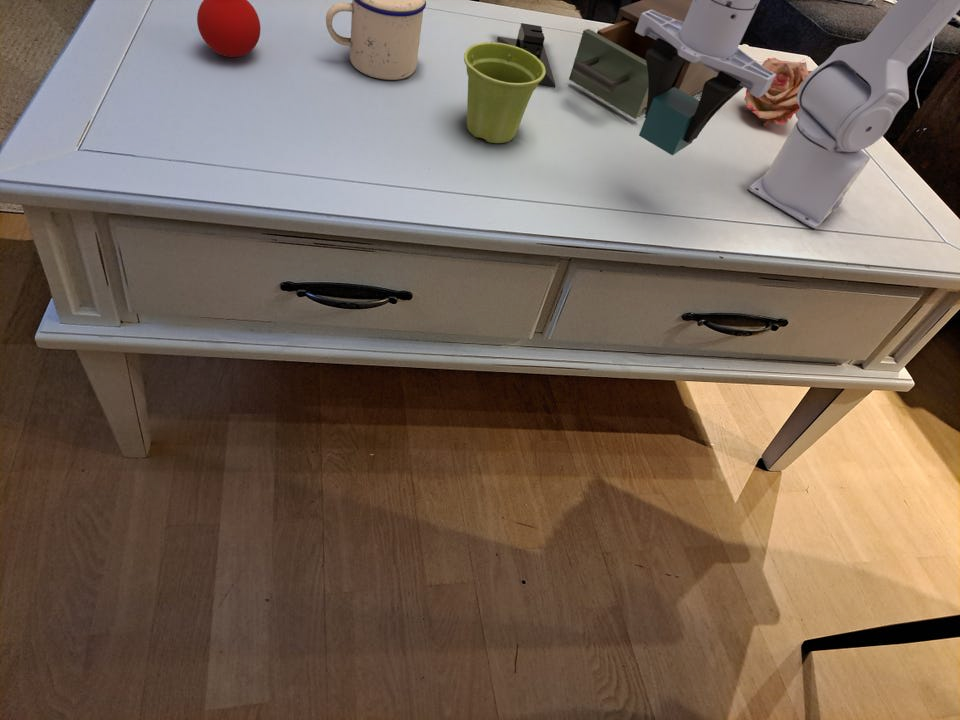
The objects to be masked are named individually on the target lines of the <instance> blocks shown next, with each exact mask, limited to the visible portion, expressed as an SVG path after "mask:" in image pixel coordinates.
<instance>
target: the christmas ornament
mask: <svg viewBox="0 0 960 720" xmlns="http://www.w3.org/2000/svg"><path fill="white" fill-rule="evenodd" d="M200 3H201V4H200V5H199V6H198V9H197V15H196V24H197V28H198V32H199V34H200V36H201V38H202V40H203V42H204V43H205V44H206V45H207V46H208V47H209V48H210V49H211V50H212V51H213V52H215V53H217V54H219V55H221V56H224V57H229V58H240V57H242V56H245V55H247V54H249V53H250V52H252V50H254V49H255V47H256V46H257V44H258V43H259V41H260V40H259V39H260V38H261V37H260V36H261V22H260V21H261V20H260V18H259V15H258V12H257V11H256V9H255V8H254V6H253V5H252V4H251V2H250V1H248V0H202V2H200Z"/></svg>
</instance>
